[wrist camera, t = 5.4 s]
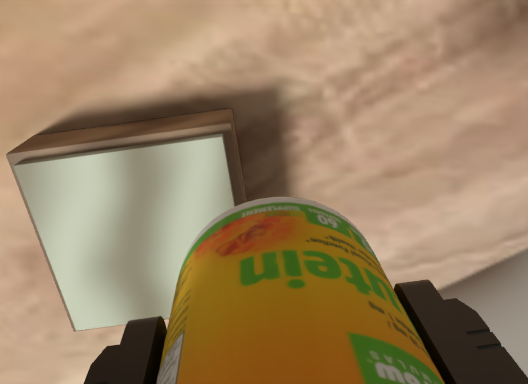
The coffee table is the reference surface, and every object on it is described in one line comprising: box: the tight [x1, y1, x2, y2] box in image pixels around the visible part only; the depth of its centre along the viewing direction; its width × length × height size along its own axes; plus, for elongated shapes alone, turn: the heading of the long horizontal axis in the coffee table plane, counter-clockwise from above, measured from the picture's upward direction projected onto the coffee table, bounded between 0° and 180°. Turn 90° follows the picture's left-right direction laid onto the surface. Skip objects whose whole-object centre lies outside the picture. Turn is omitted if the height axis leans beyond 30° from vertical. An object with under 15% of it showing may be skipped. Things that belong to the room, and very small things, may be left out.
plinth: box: [6, 108, 247, 331], centre depth 27 cm, size 12×12×4 cm
